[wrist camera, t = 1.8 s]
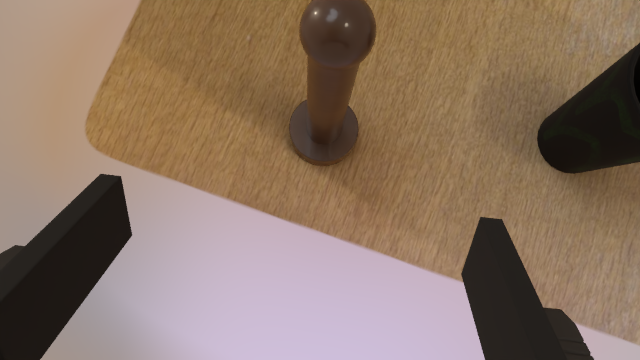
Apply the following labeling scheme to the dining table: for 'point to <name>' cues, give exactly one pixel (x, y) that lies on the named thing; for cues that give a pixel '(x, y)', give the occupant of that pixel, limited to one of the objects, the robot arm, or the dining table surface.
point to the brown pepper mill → (331, 78)
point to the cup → (597, 122)
